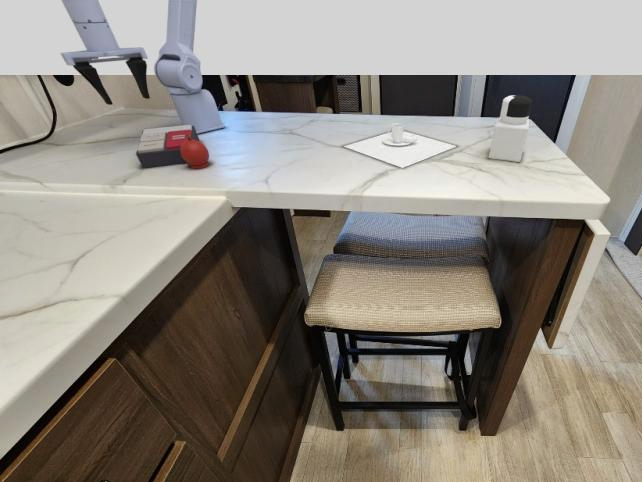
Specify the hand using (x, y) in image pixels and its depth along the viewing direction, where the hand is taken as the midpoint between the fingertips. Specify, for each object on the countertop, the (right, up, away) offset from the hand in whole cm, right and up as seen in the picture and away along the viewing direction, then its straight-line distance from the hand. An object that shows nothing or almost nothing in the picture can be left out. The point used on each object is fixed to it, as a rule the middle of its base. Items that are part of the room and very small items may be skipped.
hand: (128, 100), depth 74 cm
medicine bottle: (+87, -11, +3) cm, 87 cm away
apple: (+18, -16, -3) cm, 24 cm away
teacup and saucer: (+62, -7, +7) cm, 63 cm away
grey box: (+9, -11, +2) cm, 15 cm away
